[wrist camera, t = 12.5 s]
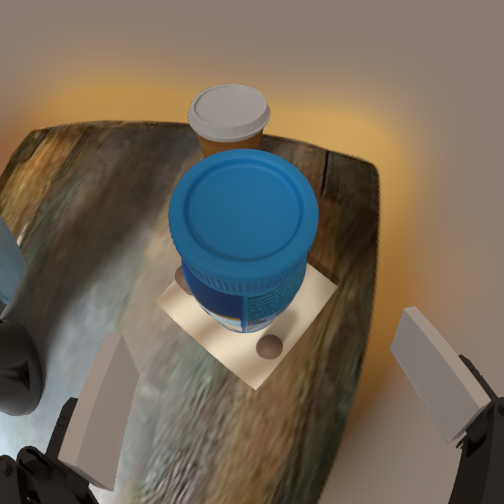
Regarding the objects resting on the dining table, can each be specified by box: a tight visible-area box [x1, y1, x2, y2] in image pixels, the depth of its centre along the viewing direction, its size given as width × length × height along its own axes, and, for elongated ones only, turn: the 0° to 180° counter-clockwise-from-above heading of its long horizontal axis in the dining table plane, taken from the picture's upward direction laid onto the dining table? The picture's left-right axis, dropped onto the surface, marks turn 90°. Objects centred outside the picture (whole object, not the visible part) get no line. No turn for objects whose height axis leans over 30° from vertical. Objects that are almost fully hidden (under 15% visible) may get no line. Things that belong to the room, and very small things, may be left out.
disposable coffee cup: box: [188, 84, 270, 158], centre depth 33 cm, size 10×10×12 cm
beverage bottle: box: [168, 149, 319, 333], centre depth 21 cm, size 8×8×20 cm
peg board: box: [155, 263, 337, 390], centre depth 29 cm, size 15×15×6 cm
